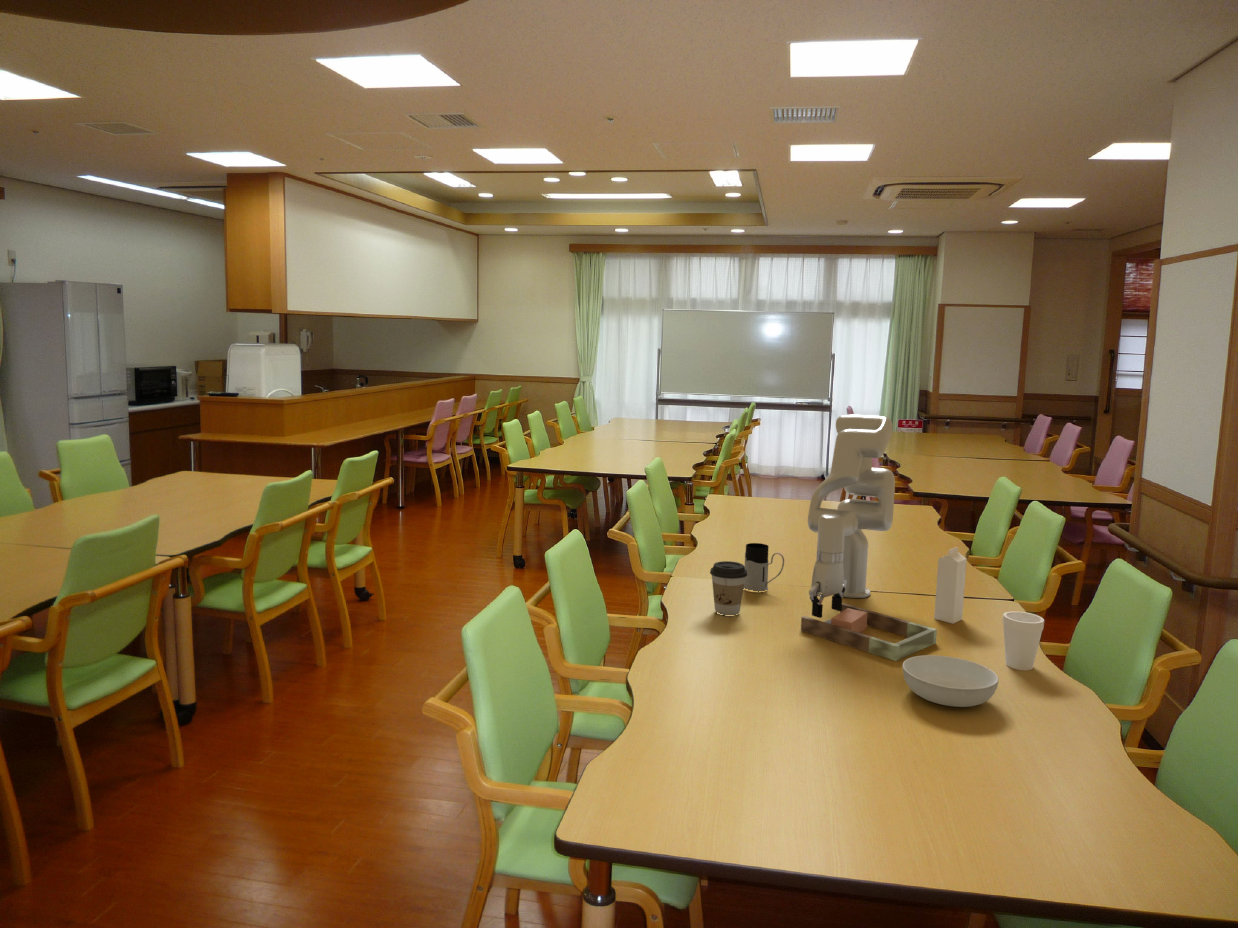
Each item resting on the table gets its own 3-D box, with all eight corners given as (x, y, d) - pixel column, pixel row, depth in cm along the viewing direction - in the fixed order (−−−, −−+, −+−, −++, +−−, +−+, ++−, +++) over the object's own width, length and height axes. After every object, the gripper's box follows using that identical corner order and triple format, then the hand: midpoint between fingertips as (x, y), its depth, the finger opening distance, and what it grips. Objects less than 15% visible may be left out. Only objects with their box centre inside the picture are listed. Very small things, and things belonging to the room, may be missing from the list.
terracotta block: (830, 635, 235) (831, 618, 234) (846, 624, 244) (847, 608, 243) (850, 639, 231) (851, 622, 230) (866, 628, 241) (867, 612, 240)
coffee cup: (704, 615, 249) (705, 567, 247) (714, 605, 260) (715, 558, 257) (741, 620, 245) (742, 571, 243) (749, 609, 255) (751, 562, 253)
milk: (962, 619, 249) (968, 548, 246) (952, 624, 245) (959, 551, 242) (942, 614, 254) (948, 544, 251) (933, 618, 250) (939, 547, 247)
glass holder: (749, 583, 283) (751, 541, 281) (788, 591, 275) (790, 547, 273) (737, 589, 276) (739, 546, 274) (776, 597, 268) (778, 552, 266)
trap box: (800, 630, 237) (801, 617, 237) (842, 615, 251) (843, 603, 251) (895, 661, 215) (896, 646, 215) (935, 643, 229) (936, 629, 228)
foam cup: (1039, 662, 216) (1043, 614, 214) (1040, 675, 207) (1045, 625, 206) (999, 656, 220) (1003, 609, 218) (998, 668, 211) (1003, 619, 210)
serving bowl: (1009, 698, 193) (1011, 670, 192) (976, 727, 178) (979, 697, 177) (922, 673, 207) (924, 647, 206) (885, 698, 192) (886, 670, 191)
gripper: (836, 549, 249) (833, 604, 251) (801, 558, 238) (798, 615, 240) (857, 554, 243) (854, 610, 246) (823, 564, 232) (820, 622, 234)
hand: (826, 613), depth 243 cm, fingers open, 9 cm apart
